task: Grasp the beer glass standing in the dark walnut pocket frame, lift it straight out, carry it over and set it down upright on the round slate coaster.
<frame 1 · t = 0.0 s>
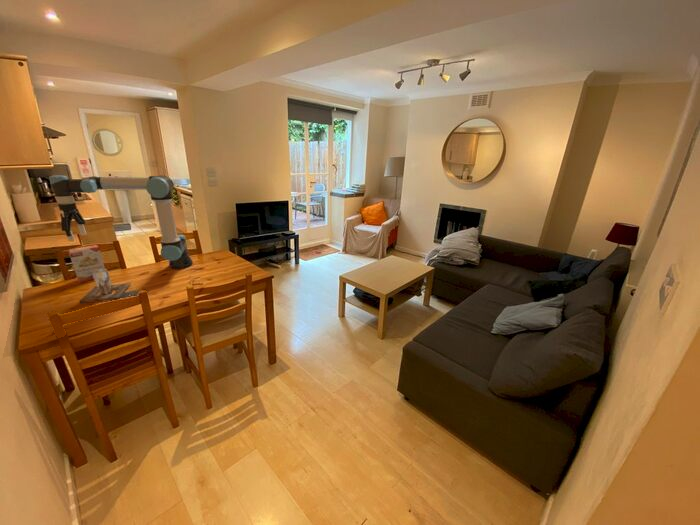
hand: (78, 237, 174), 28 cm above the table, fingers open, 13 cm apart
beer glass: (107, 294, 168), resting in pocket frame
coaster: (131, 295, 167), on the table
pocket frame: (106, 293, 168), on the table
cracker box: (93, 278, 186), on the table
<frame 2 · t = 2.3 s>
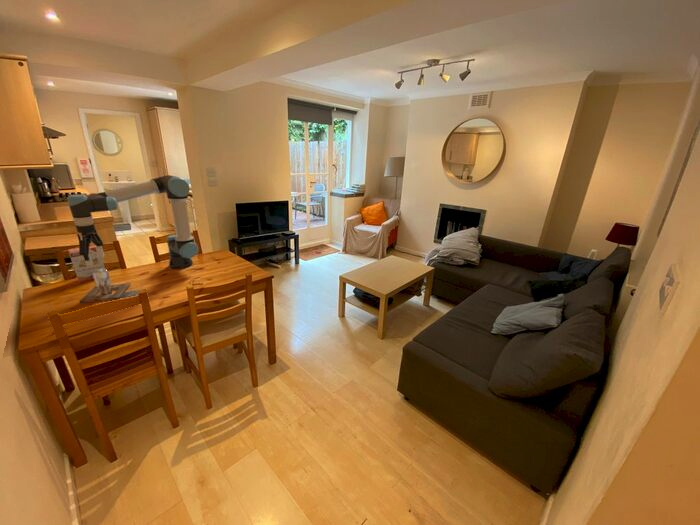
hand: (95, 261, 160), 21 cm above the table, fingers open, 13 cm apart
nothing on the table moved.
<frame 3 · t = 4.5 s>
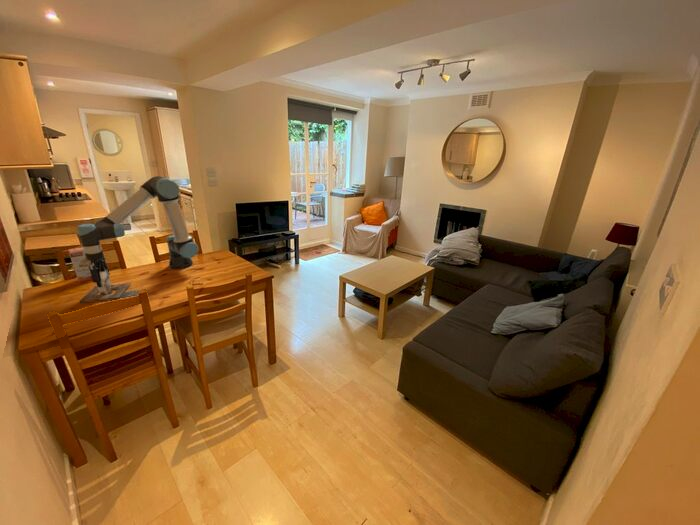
hand: (105, 288, 167), 4 cm above the table, fingers closed on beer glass, 7 cm apart
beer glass: (107, 294, 168), resting in pocket frame, touching gripper
everything else where it was.
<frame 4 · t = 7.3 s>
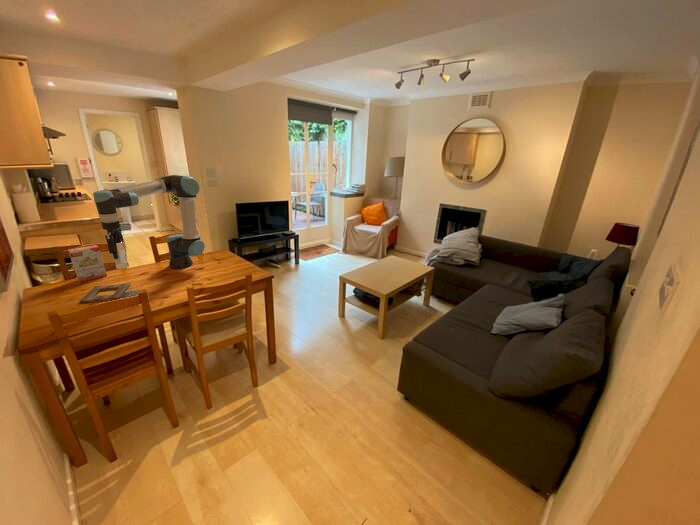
hand: (121, 261, 159), 22 cm above the table, fingers closed on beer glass, 7 cm apart
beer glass: (122, 267, 160), point 18 cm above the table, touching gripper
everything else where it was.
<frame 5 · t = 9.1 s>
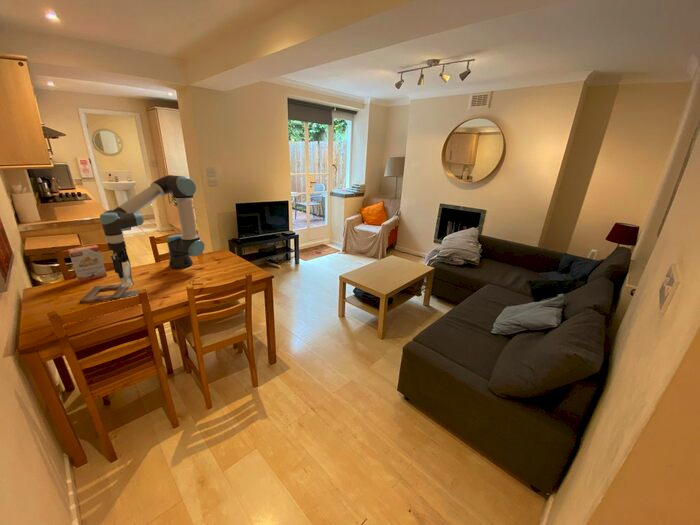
hand: (126, 279, 163), 11 cm above the table, fingers closed on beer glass, 7 cm apart
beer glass: (127, 285, 164), point 7 cm above the table, touching gripper
everything else where it was.
when the fingers open (5 cm above the table, at t = 10.6 s): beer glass stays where it is, resting on coaster.
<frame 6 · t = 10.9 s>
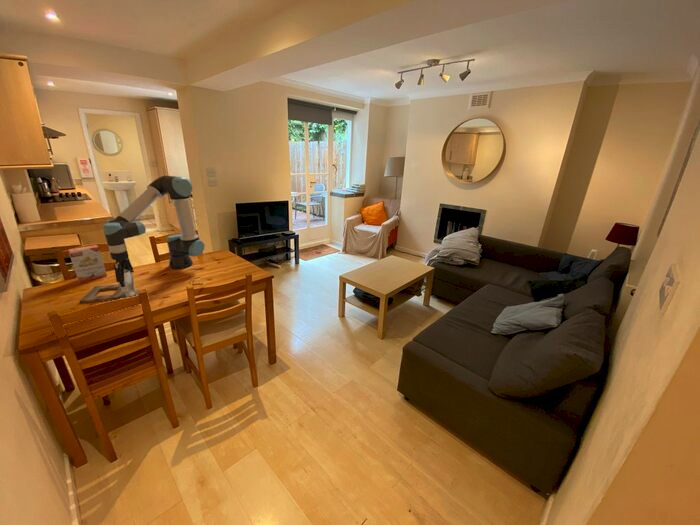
hand: (128, 287, 165), 6 cm above the table, fingers open, 10 cm apart
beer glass: (130, 295, 167), point 1 cm above the table, touching coaster
everything else where it was.
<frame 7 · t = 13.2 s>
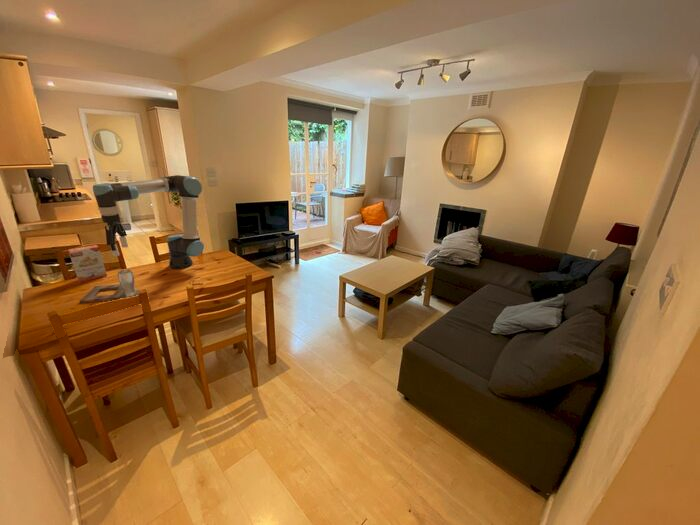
hand: (120, 251, 160), 27 cm above the table, fingers open, 13 cm apart
nothing on the table moved.
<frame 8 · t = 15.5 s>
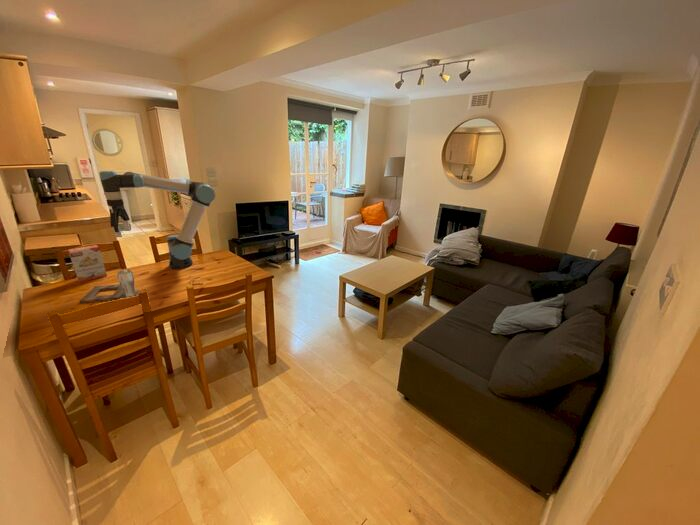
hand: (123, 233, 173), 32 cm above the table, fingers open, 13 cm apart
nothing on the table moved.
at the end: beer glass 0.0 cm from the coaster (horizontally); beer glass tilted 0°; the gripper is holding nothing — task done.
